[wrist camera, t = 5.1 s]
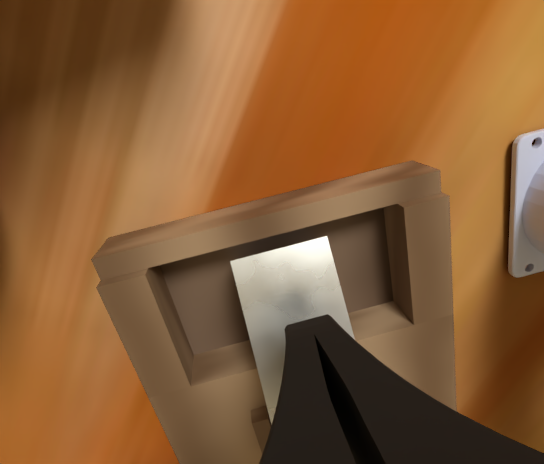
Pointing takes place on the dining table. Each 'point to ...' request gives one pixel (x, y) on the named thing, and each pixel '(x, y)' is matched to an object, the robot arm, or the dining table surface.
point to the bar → (286, 302)
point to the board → (229, 315)
